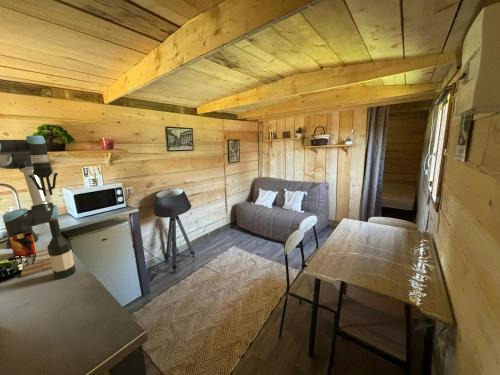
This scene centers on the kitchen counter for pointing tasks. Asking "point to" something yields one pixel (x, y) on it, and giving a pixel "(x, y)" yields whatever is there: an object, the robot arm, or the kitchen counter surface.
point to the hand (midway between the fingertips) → (49, 200)
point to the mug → (23, 245)
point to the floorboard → (36, 268)
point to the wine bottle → (60, 252)
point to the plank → (42, 256)
